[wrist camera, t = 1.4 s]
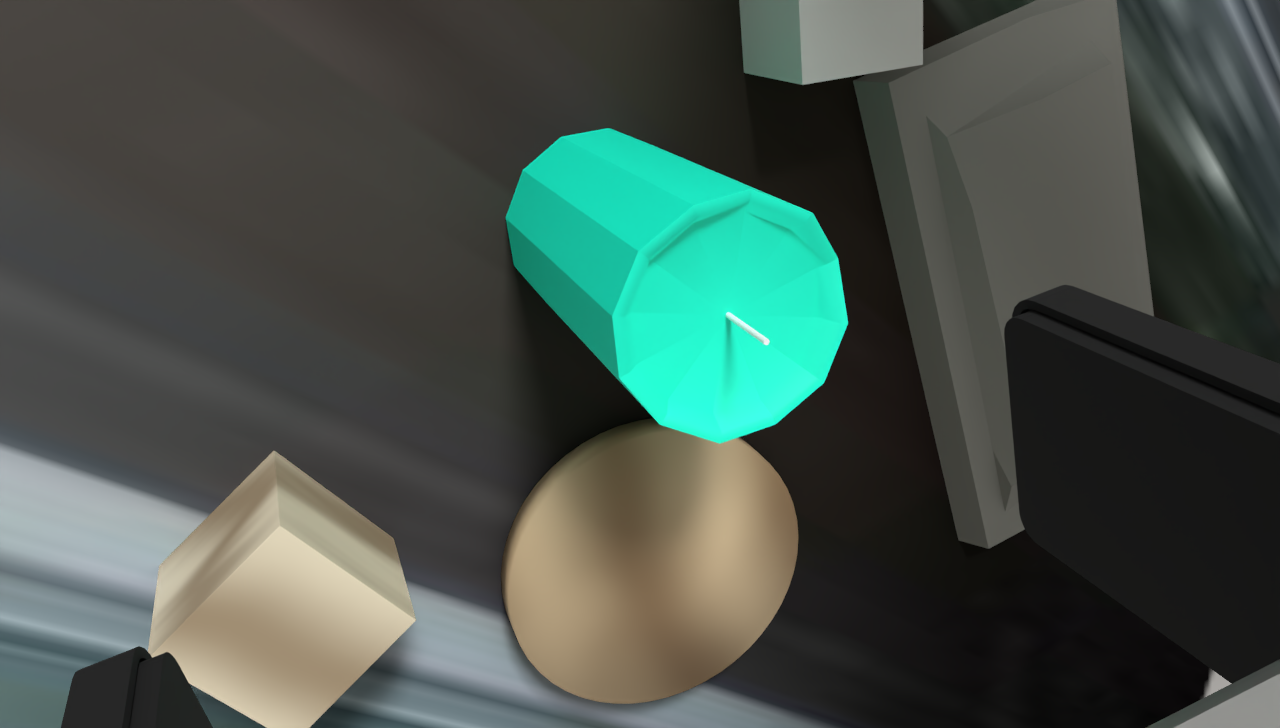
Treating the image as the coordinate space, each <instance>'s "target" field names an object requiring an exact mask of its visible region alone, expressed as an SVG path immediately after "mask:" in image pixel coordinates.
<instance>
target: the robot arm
mask: <svg viewBox="0 0 1280 728" xmlns="http://www.w3.org/2000/svg"><path fill="white" fill-rule="evenodd" d="M1004 339H1005V350H1006V362H1007V374H1008V386H1009V397H1010V409H1011V421H1012V432H1013V444H1014V456H1015V468H1016V479H1017V491H1018V503H1019V513H1020V518H1021V521H1022V524H1023V526H1024V528H1025V530H1026V532H1027V533H1028V535H1029V536H1030V537H1031V538H1032V540H1033V541H1034V542H1036V543H1037V544H1038V545H1039V546H1041V547H1042V548H1043V549H1045V550H1046V551H1048V552H1049V553H1050V554H1052V555H1053V556H1055V557H1056V558H1057V559H1059V560H1060V561H1061V562H1063V563H1064V564H1066V565H1067V566H1068V567H1070V568H1071V569H1073V570H1074V571H1075V572H1077V573H1078V574H1080V575H1081V576H1082V577H1084V578H1085V579H1087V580H1088V581H1089V582H1091V583H1092V584H1094V585H1095V586H1096V587H1098V588H1099V589H1101V590H1102V591H1103V592H1105V593H1106V594H1108V595H1109V596H1110V597H1112V598H1113V599H1115V600H1116V601H1117V602H1119V603H1120V604H1121V605H1123V606H1124V607H1126V608H1127V609H1128V610H1130V611H1131V612H1133V613H1134V614H1135V615H1137V616H1138V617H1140V618H1141V619H1142V620H1144V621H1145V622H1147V623H1148V624H1149V625H1151V626H1152V627H1154V628H1155V629H1156V630H1158V631H1159V632H1161V633H1162V634H1163V635H1165V636H1166V637H1168V638H1169V639H1170V640H1172V641H1173V642H1175V643H1176V644H1177V645H1179V646H1180V647H1182V648H1183V649H1184V650H1186V651H1187V652H1188V653H1190V654H1191V655H1193V656H1194V657H1195V658H1197V659H1198V660H1200V661H1201V662H1202V663H1204V664H1205V665H1207V666H1208V667H1209V668H1211V669H1212V670H1214V671H1215V672H1216V673H1218V674H1219V675H1221V676H1222V677H1223V678H1225V679H1226V680H1228V681H1229V682H1230V683H1232V684H1231V685H1229V686H1227V687H1225V688H1223V689H1221V690H1219V691H1217V692H1215V693H1213V694H1211V695H1209V696H1207V697H1205V698H1203V699H1201V700H1199V701H1197V702H1195V703H1193V704H1191V705H1190V706H1188V707H1186V708H1184V709H1182V710H1180V711H1178V712H1176V713H1174V714H1172V715H1170V716H1168V717H1166V718H1164V719H1162V720H1160V721H1158V722H1156V723H1154V724H1152V725H1150V726H1149V727H1147V728H1280V364H1278V363H1276V362H1273V361H1270V360H1268V359H1265V358H1262V357H1260V356H1257V355H1254V354H1252V353H1249V352H1246V351H1244V350H1241V349H1238V348H1236V347H1233V346H1230V345H1228V344H1225V343H1223V342H1220V341H1217V340H1215V339H1212V338H1209V337H1207V336H1204V335H1201V334H1199V333H1196V332H1193V331H1191V330H1188V329H1185V328H1183V327H1180V326H1177V325H1175V324H1172V323H1169V322H1167V321H1164V320H1161V319H1159V318H1156V317H1154V316H1151V315H1148V314H1146V313H1143V312H1140V311H1138V310H1135V309H1132V308H1130V307H1127V306H1124V305H1122V304H1119V303H1116V302H1114V301H1111V300H1108V299H1106V298H1103V297H1100V296H1098V295H1095V294H1093V293H1090V292H1087V291H1085V290H1082V289H1079V288H1077V287H1074V286H1070V285H1062V286H1058V287H1056V288H1053V289H1051V290H1048V291H1045V292H1043V293H1040V294H1038V295H1035V296H1033V297H1030V298H1028V299H1025V300H1022V301H1020V302H1019V303H1018V304H1017V305H1016V306H1015V308H1014V311H1013V313H1012V318H1011V319H1009V320H1008V321H1007V322H1006V325H1005V328H1004ZM61 728H213V727H212V725H211V723H210V722H209V720H208V718H207V716H206V714H205V712H204V710H203V709H202V707H201V705H200V703H199V701H198V699H197V697H196V696H195V694H194V692H193V690H192V688H191V686H190V684H189V683H188V681H187V679H186V677H185V675H184V673H183V672H182V670H181V668H180V666H179V664H178V663H177V661H176V659H175V658H174V657H173V656H172V655H171V654H170V653H168V652H165V653H163V654H160V655H158V656H155V657H153V658H152V657H151V655H150V654H149V653H148V652H147V651H146V650H145V649H144V648H142V647H136V648H134V649H131V650H129V651H126V652H124V653H121V654H118V655H116V656H113V657H111V658H108V659H106V660H103V661H101V662H98V663H95V664H93V665H90V666H88V667H85V668H83V669H80V670H78V671H77V672H75V674H74V677H73V679H72V683H71V687H70V691H69V696H68V700H67V704H66V709H65V713H64V717H63V721H62V726H61Z"/></svg>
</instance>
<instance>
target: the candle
mask: <svg viewBox="0 0 1280 728" xmlns="http://www.w3.org/2000/svg"><path fill="white" fill-rule="evenodd" d="M506 223H507V229H508V235H509V240H510V246H511V252H512V258H513V263H514V266H515V268H516V269H517V270H518V271H519V272H520V273H521V274H522V276H523V277H524V278H525V279H526V280H527V281H528V282H529V284H530V285H531V286H532V287H533V288H534V289H535V290H536V292H537V293H538V294H539V295H540V296H541V297H542V298H543V300H544V301H545V302H546V303H547V304H548V305H549V306H550V307H551V308H552V309H553V310H554V311H555V313H556V314H557V315H558V316H559V317H560V318H561V319H562V320H563V321H564V322H565V323H566V324H567V325H568V327H569V328H570V329H571V330H572V331H573V332H574V333H575V334H576V335H577V336H578V337H579V338H580V339H581V341H582V342H583V343H584V344H585V345H586V346H587V347H588V348H589V349H590V350H591V351H592V352H593V353H594V355H595V356H596V357H597V358H598V359H599V360H600V361H601V362H602V363H603V364H604V365H605V366H606V367H607V368H608V370H609V371H610V372H611V373H612V374H613V375H614V376H615V377H616V378H617V379H618V380H619V381H620V382H621V384H622V385H623V386H624V387H625V388H626V389H627V390H628V391H629V392H630V393H631V394H632V395H633V396H634V398H635V399H636V400H637V401H638V402H639V403H640V404H641V405H642V406H643V407H644V408H645V409H646V410H647V412H648V413H649V414H650V415H651V416H652V417H653V418H654V419H655V420H656V421H657V422H658V423H659V424H660V425H662V426H665V427H668V428H672V429H675V430H678V431H681V432H684V433H687V434H691V435H694V436H697V437H700V438H703V439H706V440H710V441H713V442H716V443H719V444H721V443H724V442H726V441H729V440H732V439H735V438H738V437H741V436H744V435H747V434H749V433H752V432H755V431H758V430H761V429H764V428H767V427H770V426H773V425H775V424H777V423H778V422H779V421H780V420H781V419H782V418H784V417H785V416H786V415H787V414H788V413H789V412H791V411H792V410H793V409H794V408H795V407H797V406H798V405H799V404H800V403H801V402H802V401H804V400H805V399H806V398H807V397H808V396H809V395H811V394H812V393H813V392H814V391H815V390H816V389H818V388H819V387H820V386H821V385H822V384H823V383H824V382H825V379H826V377H827V375H828V372H829V370H830V367H831V365H832V362H833V360H834V357H835V355H836V352H837V350H838V347H839V345H840V342H841V340H842V337H843V335H844V332H845V330H846V327H847V325H848V319H847V312H846V306H845V299H844V293H843V287H842V280H841V274H840V267H839V261H838V257H837V255H836V254H835V252H834V250H833V248H832V246H831V245H830V243H829V241H828V239H827V237H826V236H825V234H824V232H823V230H822V228H821V227H820V225H819V223H818V221H817V219H816V218H815V216H814V214H813V213H812V212H810V211H807V210H805V209H803V208H800V207H798V206H795V205H793V204H791V203H788V202H786V201H784V200H781V199H779V198H777V197H774V196H772V195H769V194H767V193H765V192H762V191H760V190H758V189H755V188H753V187H750V186H748V185H746V184H743V183H741V182H739V181H736V180H734V179H731V178H729V177H727V176H724V175H722V174H720V173H717V172H715V171H713V170H710V169H708V168H705V167H703V166H701V165H698V164H696V163H694V162H691V161H689V160H686V159H684V158H682V157H679V156H677V155H675V154H672V153H670V152H667V151H665V150H663V149H660V148H658V147H656V146H653V145H651V144H648V143H646V142H643V141H641V140H638V139H636V138H633V137H631V136H628V135H626V134H623V133H620V132H618V131H615V130H613V129H610V128H606V129H600V130H595V131H590V132H584V133H579V134H574V135H568V136H563V137H560V138H559V139H558V140H557V141H556V142H555V143H553V144H552V145H551V146H550V147H549V148H548V149H546V150H545V151H544V152H543V153H542V154H541V155H540V156H538V157H537V158H536V159H535V160H534V161H533V162H532V163H530V164H529V165H528V166H527V167H526V168H525V169H523V171H522V174H521V176H520V179H519V182H518V185H517V187H516V190H515V193H514V196H513V199H512V201H511V204H510V207H509V210H508V213H507V215H506Z"/></svg>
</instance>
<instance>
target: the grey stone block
mask: <svg viewBox="0 0 1280 728" xmlns="http://www.w3.org/2000/svg"><path fill="white" fill-rule="evenodd" d="M739 5H740V20H741V35H742V51H743V66H744V73H747V74H752V75H757V76H762V77H767V78H771V79H776V80H781V81H786V82H791V83H796V84H800V85H805V84H811V83H817V82H823V81H829V80H835V79H841V78H847V77H853V76H858V75H864V74H870V73H876V72H882V71H888V70H894V69H900V68H906V67H912V66H918V65H923V0H739Z"/></svg>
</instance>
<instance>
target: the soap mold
mask: <svg viewBox="0 0 1280 728" xmlns="http://www.w3.org/2000/svg"><path fill="white" fill-rule="evenodd" d="M853 83H854V87H855V92H856V96H857V101H858V105H859V109H860V114H861V118H862V122H863V127H864V131H865V136H866V140H867V144H868V149H869V153H870V157H871V162H872V166H873V170H874V175H875V179H876V184H877V188H878V192H879V197H880V201H881V205H882V210H883V214H884V218H885V223H886V227H887V232H888V236H889V240H890V245H891V249H892V253H893V258H894V262H895V267H896V271H897V275H898V280H899V284H900V288H901V293H902V297H903V301H904V306H905V310H906V315H907V319H908V323H909V328H910V332H911V336H912V341H913V345H914V350H915V354H916V358H917V363H918V367H919V371H920V376H921V380H922V384H923V389H924V393H925V398H926V402H927V406H928V411H929V415H930V419H931V424H932V428H933V432H934V437H935V441H936V445H937V450H938V454H939V458H940V463H941V467H942V471H943V476H944V480H945V484H946V489H947V493H948V497H949V502H950V506H951V510H952V515H953V519H954V523H955V528H956V532H957V536H958V540H959V541H963V542H966V543H970V544H973V545H977V546H981V547H984V548H988V549H989V548H991V547H993V546H995V545H997V544H998V543H1000V542H1002V541H1004V540H1006V539H1008V538H1010V537H1011V536H1013V535H1015V534H1017V533H1019V532H1021V531H1023V530H1025V528H1024V526H1023V524H1022V521H1021V518H1020V513H1019V503H1018V491H1017V479H1016V468H1015V456H1014V444H1013V432H1012V421H1011V409H1010V397H1009V386H1008V374H1007V362H1006V350H1005V339H1004V328H1005V325H1006V322H1007V321H1008V320H1009V319H1011V318H1012V313H1013V311H1014V308H1015V306H1016V305H1017V304H1018V303H1019V302H1020V301H1022V300H1025V299H1028V298H1030V297H1033V296H1035V295H1038V294H1040V293H1043V292H1045V291H1048V290H1051V289H1053V288H1056V287H1058V286H1062V285H1070V286H1074V287H1077V288H1079V289H1082V290H1085V291H1087V292H1090V293H1093V294H1095V295H1098V296H1100V297H1103V298H1106V299H1108V300H1111V301H1114V302H1116V303H1119V304H1122V305H1124V306H1127V307H1130V308H1132V309H1135V310H1138V311H1140V312H1143V313H1146V314H1148V315H1151V316H1154V313H1153V304H1152V296H1151V287H1150V279H1149V271H1148V262H1147V254H1146V246H1145V237H1144V229H1143V220H1142V212H1141V204H1140V195H1139V187H1138V179H1137V170H1136V162H1135V153H1134V145H1133V137H1132V128H1131V120H1130V111H1129V103H1128V95H1127V86H1126V78H1125V70H1124V61H1123V53H1122V44H1121V36H1120V28H1119V19H1118V11H1117V2H1116V0H1036V1H1034V2H1032V3H1029V4H1027V5H1025V6H1023V7H1020V8H1018V9H1016V10H1013V11H1011V12H1009V13H1007V14H1004V15H1002V16H1000V17H997V18H995V19H993V20H991V21H988V22H986V23H984V24H981V25H979V26H977V27H975V28H972V29H970V30H968V31H965V32H963V33H961V34H959V35H956V36H954V37H952V38H950V39H947V40H945V41H943V42H940V43H938V44H936V45H934V46H931V47H929V48H927V49H924V50H923V65H918V66H912V67H906V68H900V69H894V70H888V71H882V72H876V73H870V74H867V75H865V76H863V77H861V78H858V79H856V80H854V81H853Z"/></svg>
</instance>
